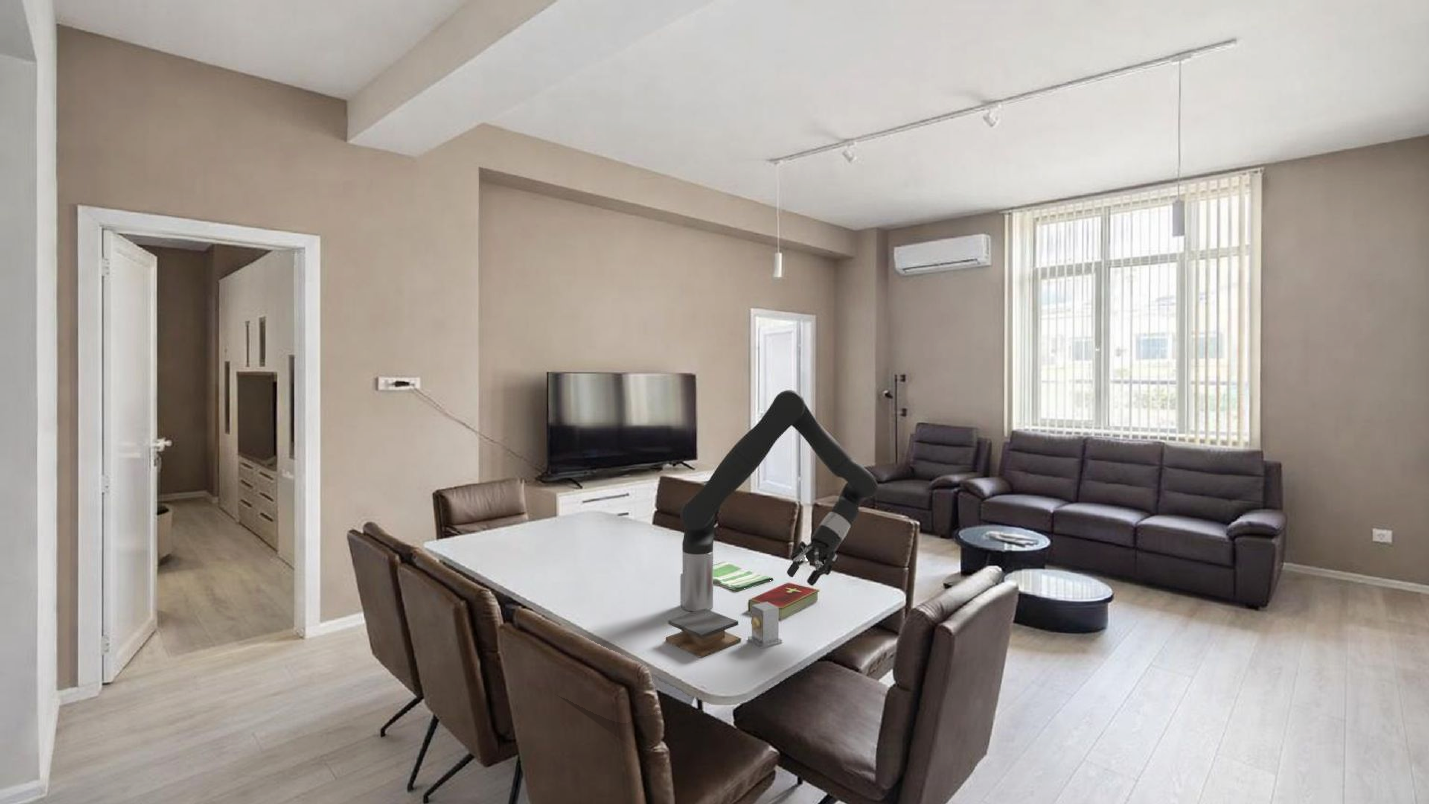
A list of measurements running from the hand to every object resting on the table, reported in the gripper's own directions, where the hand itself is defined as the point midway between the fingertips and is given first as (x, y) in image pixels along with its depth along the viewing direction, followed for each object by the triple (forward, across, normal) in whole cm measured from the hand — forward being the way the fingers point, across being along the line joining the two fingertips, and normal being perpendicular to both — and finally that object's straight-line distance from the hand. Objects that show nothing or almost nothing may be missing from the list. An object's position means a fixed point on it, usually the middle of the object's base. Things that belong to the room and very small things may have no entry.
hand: (799, 579), depth 179 cm
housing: (+18, 0, +2) cm, 19 cm away
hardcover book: (+4, -18, +17) cm, 25 cm away
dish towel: (+3, -49, +18) cm, 53 cm away
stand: (+28, -8, -8) cm, 30 cm away
